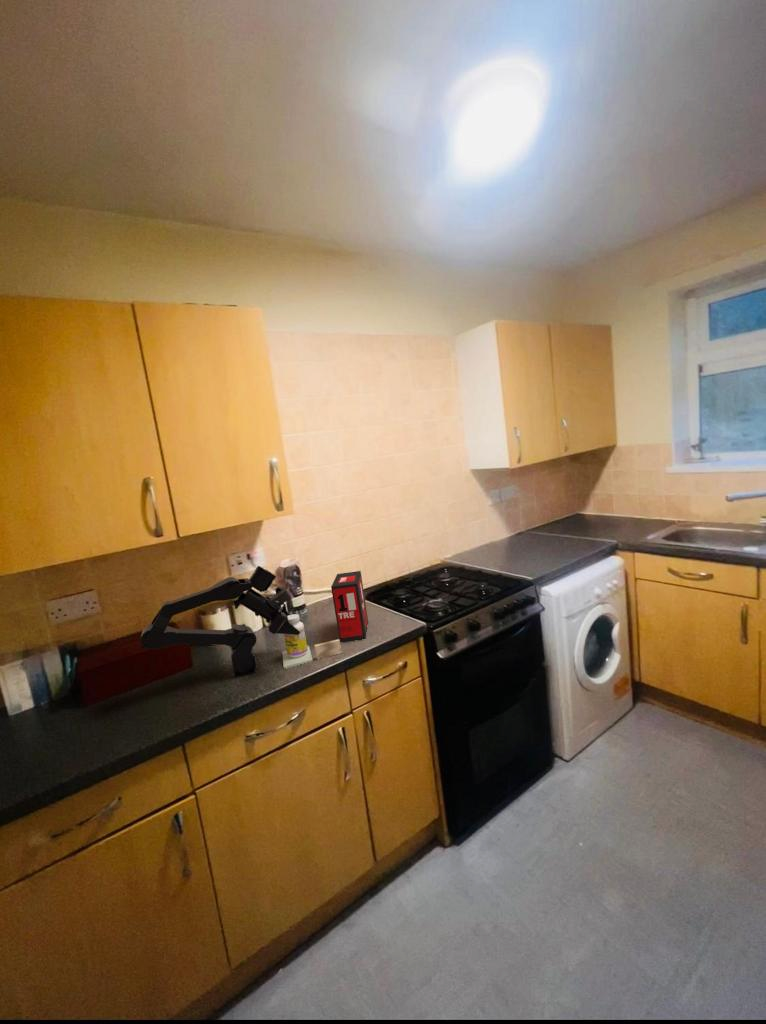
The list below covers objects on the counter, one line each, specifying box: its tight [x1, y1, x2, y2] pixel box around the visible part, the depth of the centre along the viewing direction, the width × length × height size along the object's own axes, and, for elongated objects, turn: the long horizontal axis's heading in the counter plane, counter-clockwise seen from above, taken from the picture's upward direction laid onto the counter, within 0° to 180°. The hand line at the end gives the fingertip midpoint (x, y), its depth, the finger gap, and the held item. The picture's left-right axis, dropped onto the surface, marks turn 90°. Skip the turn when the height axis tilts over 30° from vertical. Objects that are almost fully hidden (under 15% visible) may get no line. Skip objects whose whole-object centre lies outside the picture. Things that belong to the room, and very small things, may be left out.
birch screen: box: [314, 638, 342, 660], centre depth 142 cm, size 8×1×4 cm, turn 105°
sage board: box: [281, 645, 314, 670], centre depth 144 cm, size 9×12×1 cm
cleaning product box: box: [330, 570, 369, 643], centre depth 158 cm, size 16×9×20 cm, turn 179°
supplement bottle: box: [283, 613, 308, 658], centre depth 144 cm, size 7×7×13 cm
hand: (298, 628), depth 144 cm, fingers open, 9 cm apart
